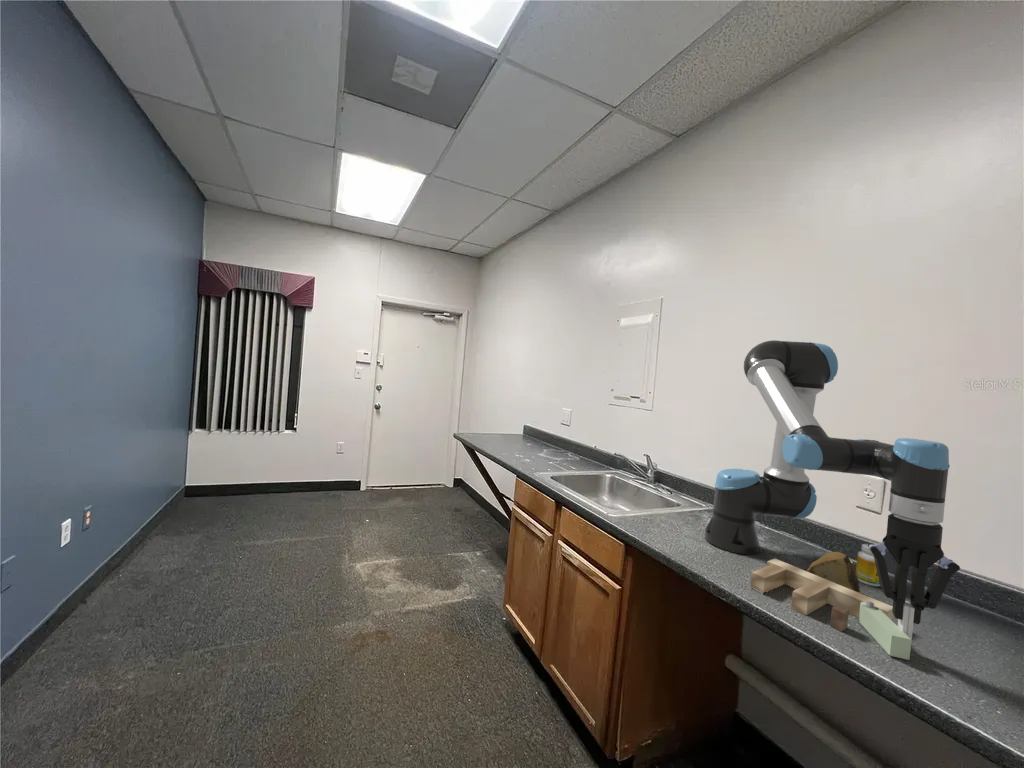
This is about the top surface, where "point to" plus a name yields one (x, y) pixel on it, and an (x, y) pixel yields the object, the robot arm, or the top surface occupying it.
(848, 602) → the stool frame
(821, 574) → the rock
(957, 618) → the top surface
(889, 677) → the top surface
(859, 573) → the supplement bottle
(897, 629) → the hinged leg
